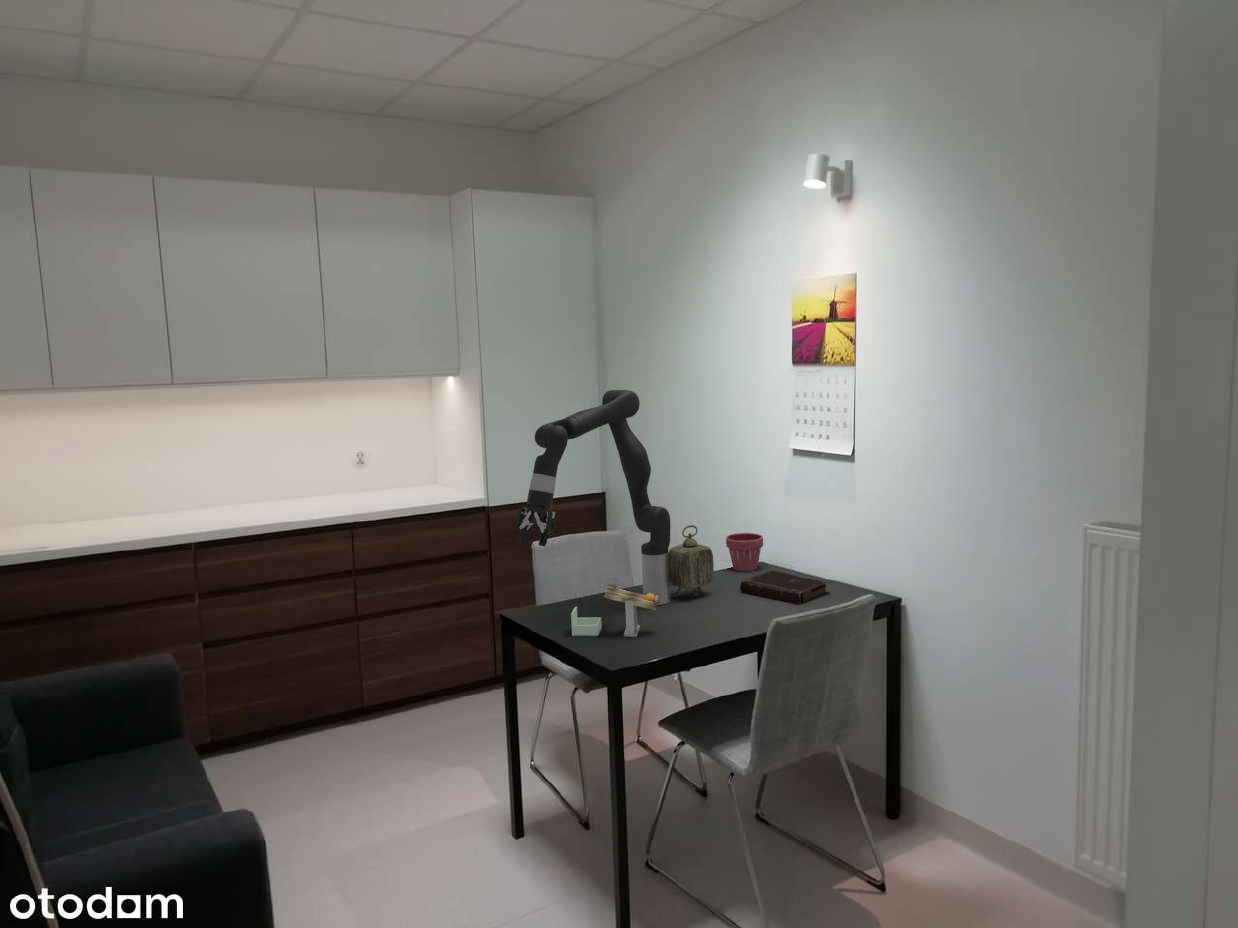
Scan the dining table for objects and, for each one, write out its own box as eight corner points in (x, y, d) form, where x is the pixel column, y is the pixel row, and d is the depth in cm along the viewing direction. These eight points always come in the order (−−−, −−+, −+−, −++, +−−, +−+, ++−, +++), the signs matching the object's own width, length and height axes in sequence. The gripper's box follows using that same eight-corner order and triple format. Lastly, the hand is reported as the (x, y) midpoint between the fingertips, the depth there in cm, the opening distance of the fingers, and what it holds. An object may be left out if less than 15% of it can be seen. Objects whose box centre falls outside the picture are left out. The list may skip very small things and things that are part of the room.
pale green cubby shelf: (576, 628, 280) (575, 606, 280) (601, 627, 279) (600, 606, 279) (572, 636, 273) (570, 613, 272) (597, 636, 272) (596, 613, 271)
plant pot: (749, 575, 337) (748, 541, 335) (719, 570, 346) (718, 537, 345) (770, 567, 347) (770, 535, 345) (741, 562, 357) (740, 531, 355)
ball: (644, 601, 274) (645, 591, 274) (654, 602, 274) (656, 592, 273) (643, 604, 271) (645, 594, 271) (653, 605, 271) (655, 595, 270)
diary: (799, 607, 295) (798, 592, 295) (740, 594, 313) (739, 580, 313) (831, 594, 308) (830, 580, 307) (772, 582, 326) (772, 569, 325)
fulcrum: (623, 636, 270) (622, 601, 269) (627, 627, 279) (625, 593, 278) (636, 636, 270) (635, 601, 268) (639, 627, 279) (638, 592, 277)
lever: (602, 597, 271) (604, 587, 271) (607, 587, 283) (609, 577, 282) (654, 611, 270) (657, 600, 269) (657, 600, 281) (660, 590, 281)
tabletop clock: (699, 589, 319) (697, 520, 316) (716, 594, 312) (714, 524, 309) (668, 597, 311) (665, 527, 308) (685, 602, 304) (683, 530, 301)
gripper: (567, 494, 265) (557, 548, 263) (534, 490, 275) (525, 542, 273) (549, 490, 259) (539, 545, 258) (516, 486, 269) (506, 539, 267)
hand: (532, 544), depth 265 cm, fingers open, 8 cm apart
